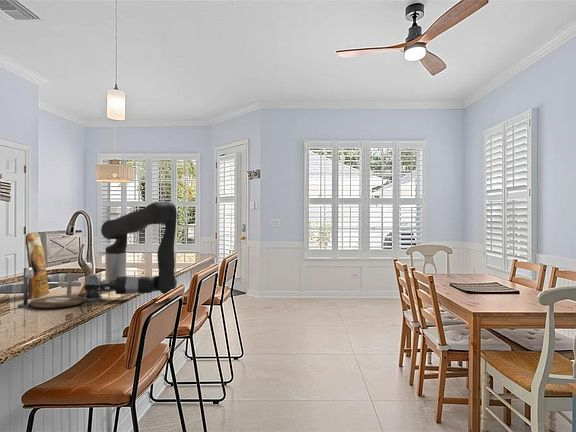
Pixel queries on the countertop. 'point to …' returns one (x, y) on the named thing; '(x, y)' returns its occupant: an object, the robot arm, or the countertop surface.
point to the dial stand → (26, 287)
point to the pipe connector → (69, 284)
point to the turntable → (56, 301)
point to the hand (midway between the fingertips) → (87, 285)
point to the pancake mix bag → (36, 266)
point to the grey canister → (91, 294)
